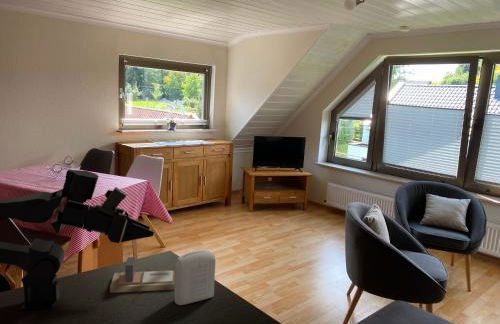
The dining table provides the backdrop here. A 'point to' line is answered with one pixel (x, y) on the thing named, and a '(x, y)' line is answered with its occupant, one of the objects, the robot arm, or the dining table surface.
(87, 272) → the dining table surface
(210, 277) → the photo printer
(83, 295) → the dining table surface
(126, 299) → the dining table surface
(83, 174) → the robot arm
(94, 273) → the dining table surface
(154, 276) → the ticket board
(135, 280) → the stub
